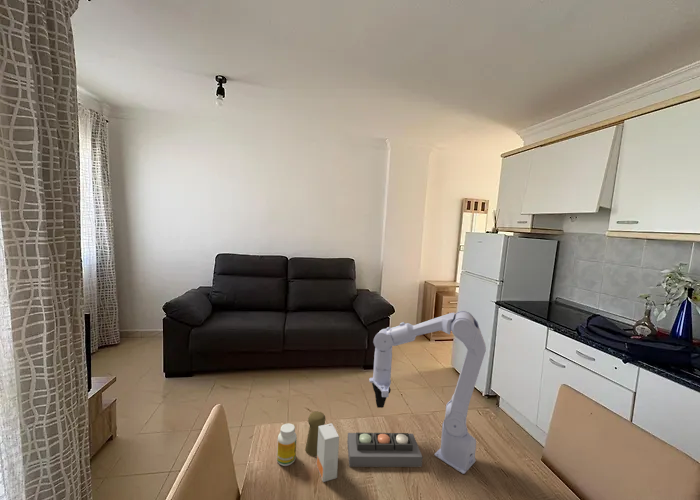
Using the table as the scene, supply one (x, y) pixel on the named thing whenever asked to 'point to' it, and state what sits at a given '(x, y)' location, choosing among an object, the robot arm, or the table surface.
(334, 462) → the skincare box
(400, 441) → the cream button
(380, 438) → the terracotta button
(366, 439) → the sage button
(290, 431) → the supplement bottle
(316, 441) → the olive pepper mill
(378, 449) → the charcoal button panel
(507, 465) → the table surface
